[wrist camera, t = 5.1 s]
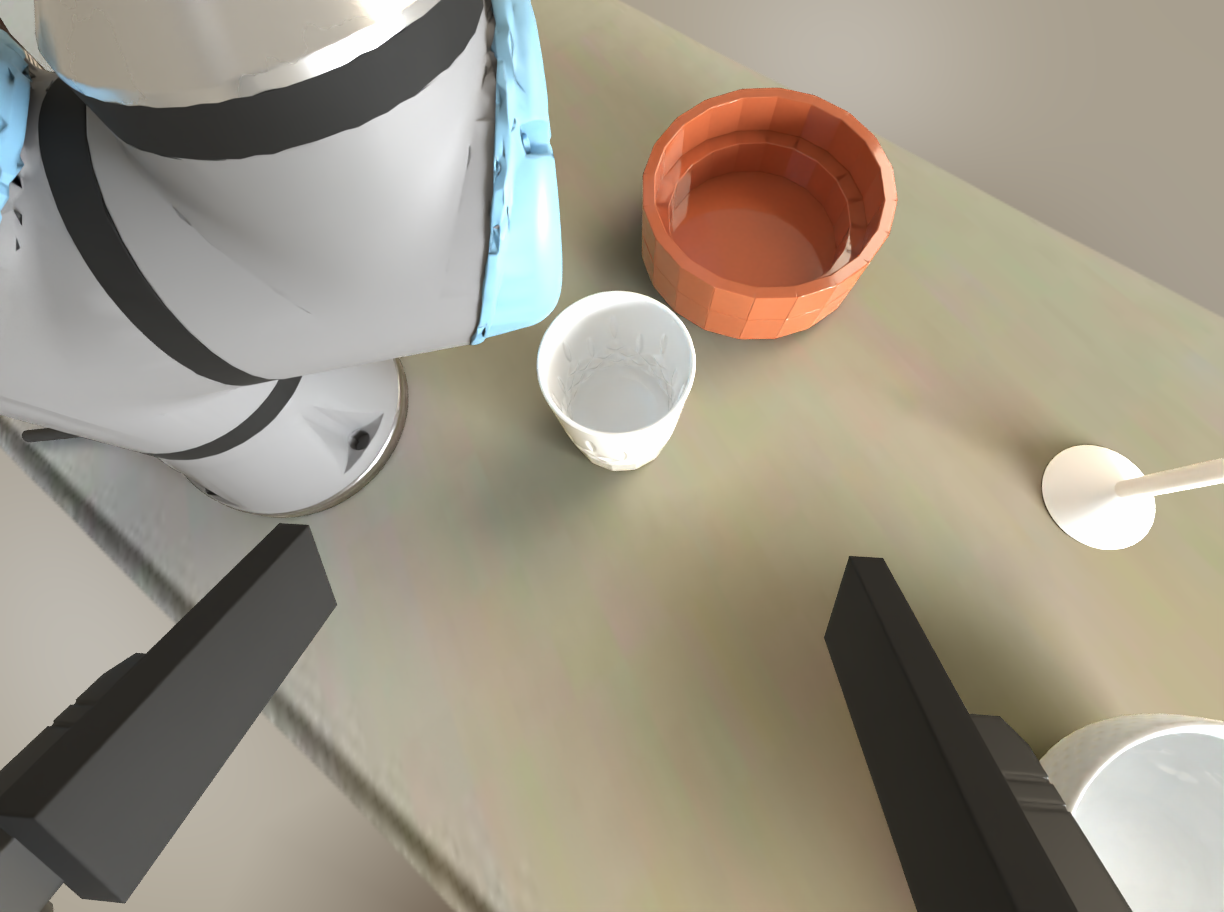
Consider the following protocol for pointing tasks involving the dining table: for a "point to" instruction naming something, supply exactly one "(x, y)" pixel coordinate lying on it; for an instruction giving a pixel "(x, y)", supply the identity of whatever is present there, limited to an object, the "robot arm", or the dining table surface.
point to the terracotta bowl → (763, 211)
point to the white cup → (617, 376)
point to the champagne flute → (1112, 494)
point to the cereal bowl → (1150, 805)
